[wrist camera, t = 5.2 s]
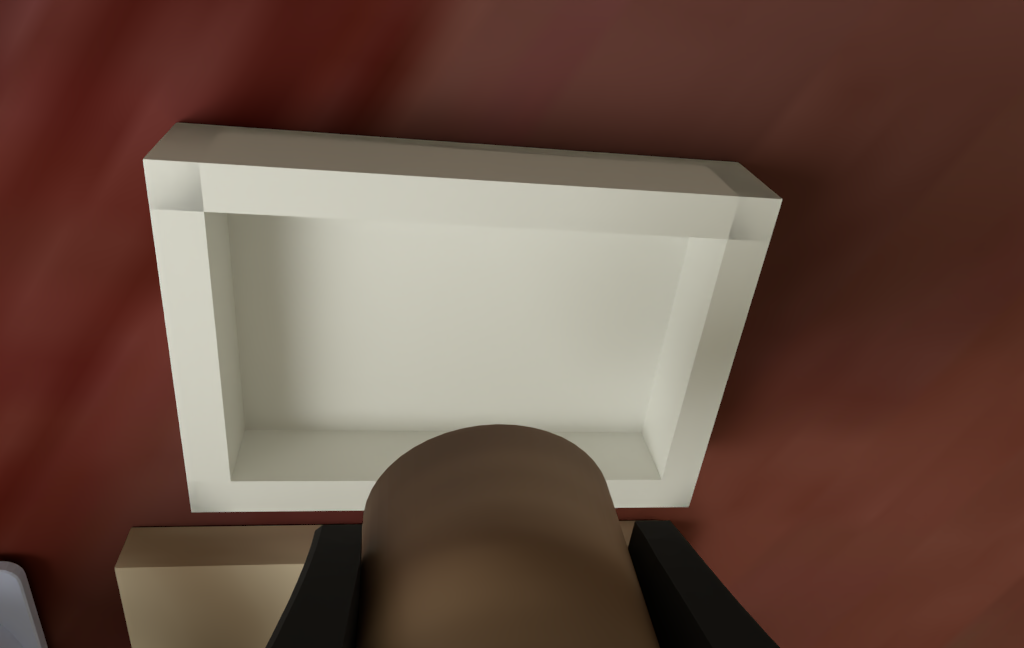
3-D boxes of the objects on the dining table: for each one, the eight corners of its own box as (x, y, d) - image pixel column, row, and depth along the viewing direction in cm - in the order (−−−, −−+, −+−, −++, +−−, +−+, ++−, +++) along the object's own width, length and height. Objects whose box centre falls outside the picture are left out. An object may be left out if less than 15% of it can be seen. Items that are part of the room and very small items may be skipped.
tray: (212, 446, 21) (191, 512, 19) (176, 122, 16) (143, 159, 14) (661, 448, 23) (688, 507, 21) (738, 162, 18) (782, 199, 16)
